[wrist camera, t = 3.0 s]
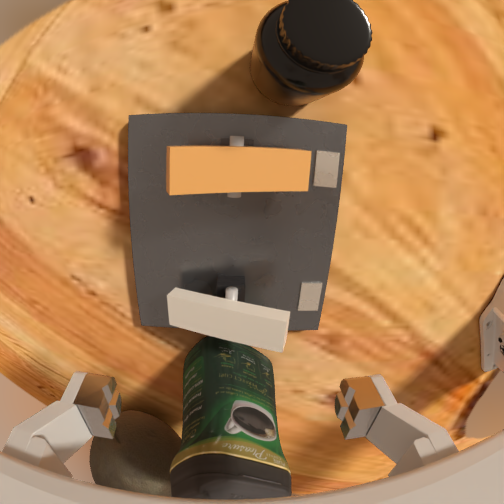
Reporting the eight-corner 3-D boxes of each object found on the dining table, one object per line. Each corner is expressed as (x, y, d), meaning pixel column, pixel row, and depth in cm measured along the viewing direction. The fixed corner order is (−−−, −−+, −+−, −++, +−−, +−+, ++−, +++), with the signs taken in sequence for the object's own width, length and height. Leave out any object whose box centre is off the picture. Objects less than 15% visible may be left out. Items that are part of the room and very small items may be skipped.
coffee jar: (175, 364, 33) (151, 510, 16) (211, 320, 31) (201, 487, 14) (242, 397, 36) (251, 531, 19) (283, 359, 34) (314, 507, 17)
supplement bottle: (339, 57, 22) (407, 18, 11) (308, 120, 24) (364, 113, 13) (269, 22, 21) (294, -45, 10) (235, 85, 23) (236, 48, 12)
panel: (341, 125, 25) (355, 124, 22) (314, 321, 32) (322, 340, 29) (134, 116, 23) (121, 114, 20) (144, 317, 31) (136, 336, 28)
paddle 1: (294, 139, 23) (312, 141, 21) (290, 193, 25) (307, 200, 23) (164, 135, 19) (170, 135, 17) (164, 198, 21) (169, 206, 19)
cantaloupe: (102, 429, 39) (80, 505, 25) (108, 377, 34) (73, 472, 20) (186, 454, 41) (180, 532, 27) (211, 409, 37) (208, 509, 23)
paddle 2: (293, 298, 24) (287, 313, 22) (287, 341, 26) (281, 359, 24) (180, 275, 27) (166, 287, 25) (182, 317, 28) (170, 331, 26)
